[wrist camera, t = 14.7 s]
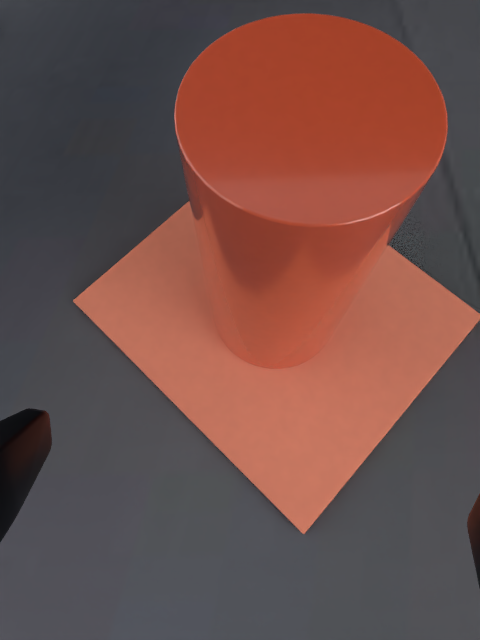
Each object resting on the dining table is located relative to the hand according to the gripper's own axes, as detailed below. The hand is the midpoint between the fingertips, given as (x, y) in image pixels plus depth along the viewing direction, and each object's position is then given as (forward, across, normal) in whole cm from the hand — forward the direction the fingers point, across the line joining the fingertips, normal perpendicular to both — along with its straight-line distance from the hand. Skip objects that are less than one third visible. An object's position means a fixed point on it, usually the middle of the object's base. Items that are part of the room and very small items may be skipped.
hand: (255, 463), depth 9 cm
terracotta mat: (+14, 0, +3) cm, 14 cm away
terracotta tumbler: (+14, 0, +2) cm, 14 cm away
